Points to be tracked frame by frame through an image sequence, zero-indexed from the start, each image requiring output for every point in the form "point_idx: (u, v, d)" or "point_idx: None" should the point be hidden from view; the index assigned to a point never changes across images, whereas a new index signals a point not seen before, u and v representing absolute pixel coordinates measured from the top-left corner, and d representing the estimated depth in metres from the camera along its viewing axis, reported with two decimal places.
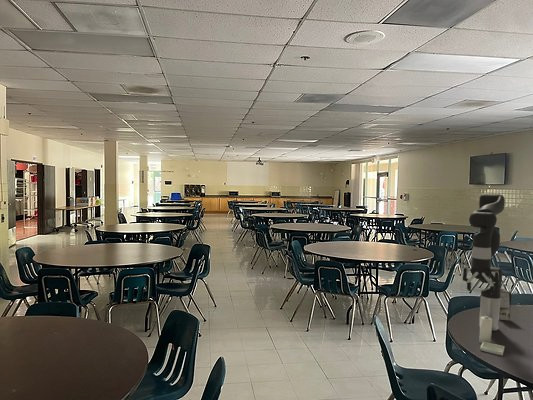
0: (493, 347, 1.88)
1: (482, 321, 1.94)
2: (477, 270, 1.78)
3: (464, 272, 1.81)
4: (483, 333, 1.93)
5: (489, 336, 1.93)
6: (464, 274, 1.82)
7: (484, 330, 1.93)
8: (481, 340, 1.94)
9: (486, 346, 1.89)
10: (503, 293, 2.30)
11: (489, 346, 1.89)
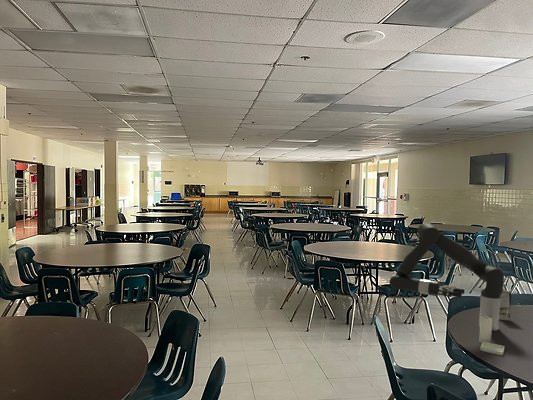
0: (493, 347, 1.88)
1: (482, 321, 1.94)
2: None
3: None
4: (483, 333, 1.93)
5: (489, 336, 1.93)
6: None
7: (484, 330, 1.93)
8: (481, 340, 1.94)
9: (486, 346, 1.89)
10: (503, 293, 2.30)
11: (489, 346, 1.89)
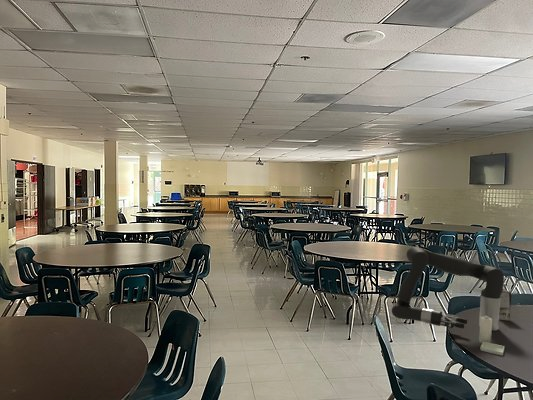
0: (493, 347, 1.88)
1: (482, 321, 1.94)
2: None
3: None
4: (483, 333, 1.93)
5: (489, 336, 1.93)
6: None
7: (484, 330, 1.93)
8: (481, 340, 1.94)
9: (486, 346, 1.89)
10: (503, 293, 2.30)
11: (489, 346, 1.89)
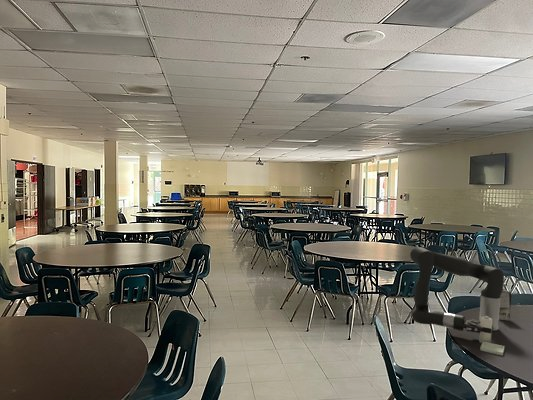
0: (493, 347, 1.88)
1: (482, 321, 1.94)
2: None
3: None
4: (483, 333, 1.93)
5: (490, 336, 1.93)
6: None
7: None
8: (481, 340, 1.94)
9: (486, 346, 1.89)
10: (503, 293, 2.30)
11: (489, 346, 1.89)
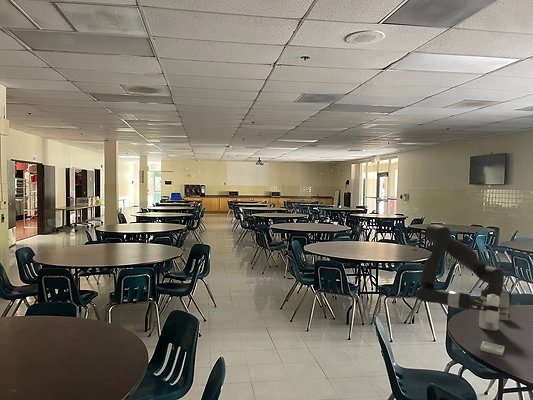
0: (493, 347, 1.88)
1: (489, 299, 1.86)
2: None
3: None
4: (490, 311, 1.86)
5: (496, 314, 1.85)
6: None
7: None
8: (487, 319, 1.87)
9: (486, 346, 1.89)
10: (503, 293, 2.30)
11: (489, 346, 1.89)
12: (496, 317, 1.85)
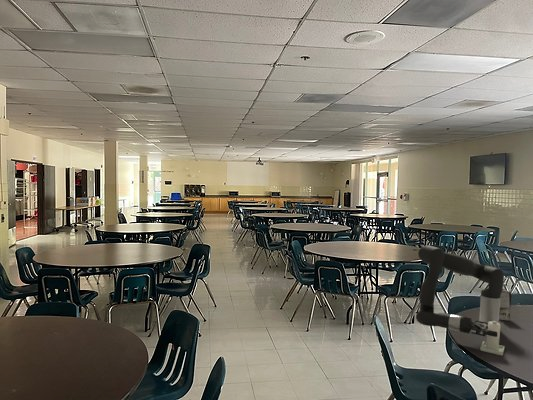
0: None
1: (490, 326, 1.85)
2: None
3: None
4: (491, 339, 1.85)
5: (497, 342, 1.84)
6: None
7: None
8: (488, 346, 1.85)
9: None
10: (503, 293, 2.30)
11: None
12: (497, 345, 1.84)
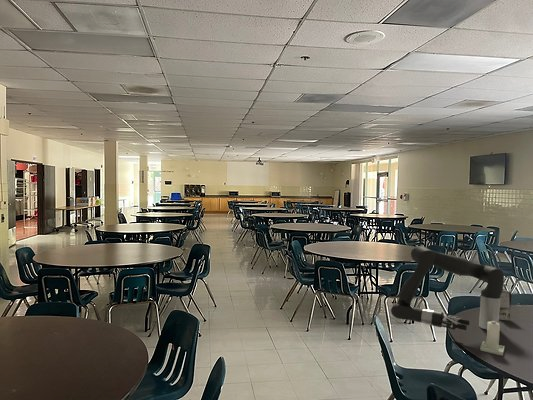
0: None
1: (489, 326, 1.85)
2: None
3: None
4: (490, 339, 1.85)
5: (497, 342, 1.84)
6: None
7: (492, 335, 1.84)
8: (488, 346, 1.85)
9: None
10: (503, 293, 2.30)
11: None
12: (497, 344, 1.84)
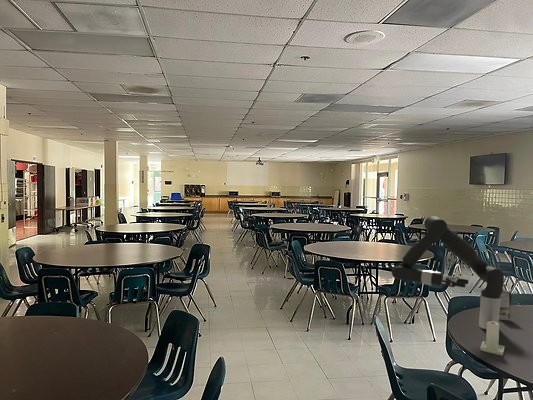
0: None
1: (488, 326, 1.85)
2: None
3: None
4: (490, 339, 1.85)
5: (497, 342, 1.84)
6: None
7: (491, 335, 1.84)
8: (488, 346, 1.86)
9: None
10: (503, 293, 2.30)
11: None
12: (496, 344, 1.84)
